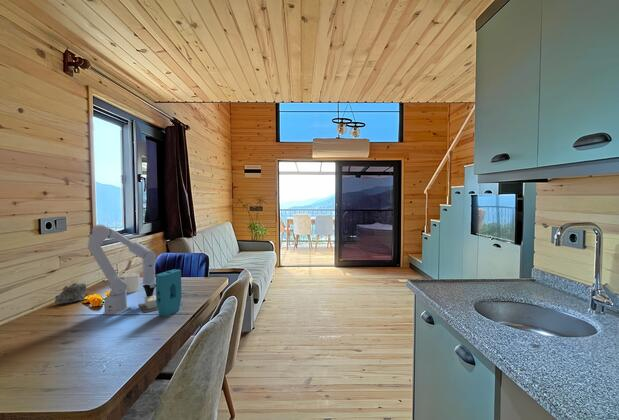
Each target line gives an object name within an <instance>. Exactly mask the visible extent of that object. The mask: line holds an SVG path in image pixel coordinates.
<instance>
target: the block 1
mask: <svg viewBox="0 0 619 420" xmlns="http://www.w3.org/2000/svg"><path fill="white" fill-rule="evenodd" d="M144 303H145V305H146V307H147V308H148V309H151V308H155V307H157V304H156V294H155V295H154V294H153V296H148V297H147V296H144Z"/></svg>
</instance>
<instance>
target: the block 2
mask: <svg viewBox="0 0 619 420" xmlns="http://www.w3.org/2000/svg"><path fill="white" fill-rule="evenodd" d="M155 280H156V282H155V285H156V287H155V295H156V304H157V308H158V310H157V312H158V315H159V316H162V317H169V316H170V315H173V314H175V313H177V312H179V311H180V308H181V307H180V306H181V302H182V270H181V269H175V268H174V269H171V270H166V271H164V272H160V273H157V274H156V273H155Z"/></svg>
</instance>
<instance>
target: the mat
mask: <svg viewBox="0 0 619 420" xmlns="http://www.w3.org/2000/svg"><path fill="white" fill-rule="evenodd" d="M138 306H139V308H140V310H141V311H142V312H143V314H146V313H150V312H151V313H152V312H155V311H158V308H157V307H155V308H151V309H148V308H147V307H146V305H145V302H143V303H139V304H138Z"/></svg>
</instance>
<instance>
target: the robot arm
mask: <svg viewBox="0 0 619 420" xmlns="http://www.w3.org/2000/svg"><path fill="white" fill-rule="evenodd" d="M106 239H108V240H115V241H117V242H118V243H121V244H122V245H124V246H126V247H127V248H128V251H129V252H130V253H132V254H134V255H135V256H136V257H138V258H141V259H142V284H143V285H142V287H143V289H144V292H145V297H148V296H153V295H154V291H155V290H156V263H155V260H156V259H157V254H156V252H154V251H153V250H151V249H150V248H149V247H146V246H144V244H143V243H142V242H141V241H139V242H138V241H132V240H130V239H129V238H127V237H125V236H124V235H123V234H121V233H120V232H118V231H116V230H114V229H112V228H109V227H107V226H105V225H104V224H96V225H94V226H93V227H92V229H91V230H90V231H89V236H88V241H87V249H88V250H89V252H90V253H91V255H92V256H93V259H94V260H95V262H96V263H97V265H98V266H99V268H100V270H101V271H102V273H103V274H104V277H105V278H106V279H107V281H108V288H109V289H110V291H109V294H108V297H106V298H105V299H104V302H103V304H104V308H103V309H104V312H103V313H102V315H112V316H113V315H114V316H117V315H118V316H119V315H120V314H122V313H124V312H126V311H128V310H129V309H131V308H132V307H131V306H128V300H127V299H128V298H127V297H128V295H127V291H126V289H127V285H126V283H125V281H124V280H123V279H122V278H120V276H119V275H118V273H117V272H116V270H115V268H114V267H113V265H112V263H111V262H110V260H109V258H108V257H107V255H106V253H105V251H104V250H103V248H102V245H103V243H104V241H105V240H106Z"/></svg>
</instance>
